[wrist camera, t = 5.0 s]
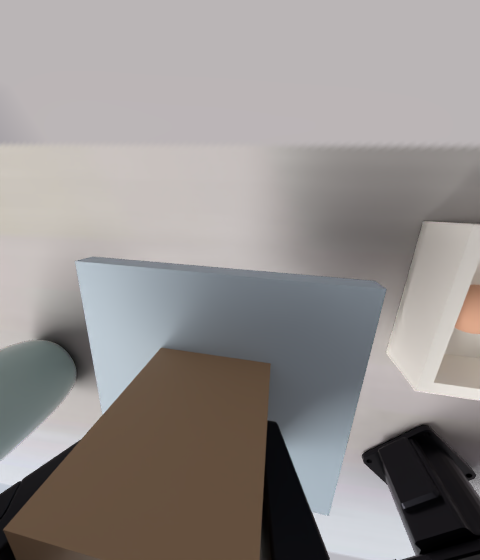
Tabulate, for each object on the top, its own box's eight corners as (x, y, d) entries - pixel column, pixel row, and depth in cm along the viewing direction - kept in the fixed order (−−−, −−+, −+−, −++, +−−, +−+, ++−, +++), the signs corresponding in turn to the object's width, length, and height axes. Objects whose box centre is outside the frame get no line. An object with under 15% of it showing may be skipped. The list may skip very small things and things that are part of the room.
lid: (375, 280, 7) (701, 517, 2) (325, 492, 10) (379, 827, 5) (93, 256, 9) (-240, 337, 3) (122, 448, 12) (-20, 662, 6)
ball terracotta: (491, 301, 15) (541, 322, 12) (447, 327, 16) (484, 353, 13) (463, 269, 15) (507, 283, 12) (420, 298, 16) (451, 318, 13)
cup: (11, 340, 24) (-161, 424, 15) (60, 318, 22) (-102, 398, 13) (53, 397, 26) (-78, 505, 16) (103, 381, 24) (-14, 494, 14)
